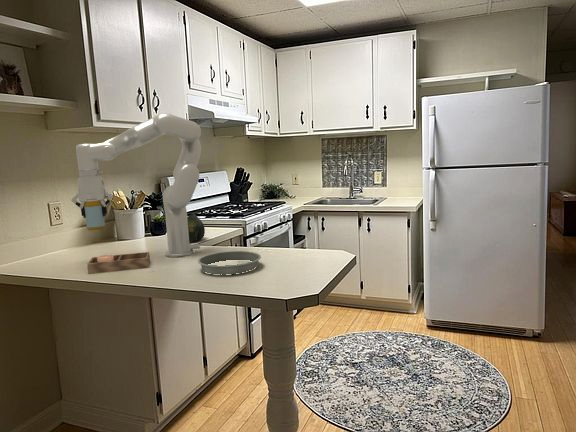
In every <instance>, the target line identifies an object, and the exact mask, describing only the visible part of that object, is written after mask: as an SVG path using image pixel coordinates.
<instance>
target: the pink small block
mask: <svg viewBox="0 0 576 432" xmlns="http://www.w3.org/2000/svg"><path fill="white" fill-rule="evenodd" d="M96 257H97V261H98V262H107V261H114V259H113V255H112V254H104V255H99V256H96Z"/></svg>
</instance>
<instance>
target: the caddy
mask: <svg viewBox="0 0 576 432" xmlns="http://www.w3.org/2000/svg"><path fill="white" fill-rule="evenodd" d="M150 256H151V255H150V252H149V251H143V252H135V253H122V254H115V255H113V259H114V261H107V262H98V261H97V257H98V256H93V257H92V258H90V259H89V261H88V263H87V264H86V266H87V271H88V272H87V274H88V275H92V274H93V275H95V274H101V273H113V272H120V271H123V272H124V271H129V270H130V271H131V270H133V271H134V270H142V269H148V268H149V267H150V263H151V257H150Z"/></svg>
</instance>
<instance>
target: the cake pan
mask: <svg viewBox="0 0 576 432" xmlns="http://www.w3.org/2000/svg"><path fill="white" fill-rule="evenodd" d="M260 259H262V256H261V254H260V253H257V252H254V251H247V250H230V251H220V252H219V251H218V252H214V253H210V254H209V253H208V254H206V255H204V256H201V257H199V258H198V260H197V263H198V264H199V265H200V267H201V269H202V272H203V271H204V272H207V273H211V274H220V275H221V274H222V275H226V274H236V273H242V272H246V271H249V270H252V269H254V268H255V267H256V266H257V267H258V265H259V260H260ZM226 260H250V261H252V262H243V263H239V264H237V265H225V266H217V265H208V264H211V263H215V262H219V261H226ZM204 272H203V273H204Z"/></svg>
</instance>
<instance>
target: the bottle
mask: <svg viewBox="0 0 576 432" xmlns="http://www.w3.org/2000/svg"><path fill="white" fill-rule="evenodd" d="M102 207H103V206H102V204H101V202H100V201H98V200H97V197H96V194H86V202H85V204H84V209H85V216H86V218H85V223H86V229H87V230H88V231H99V230H103V229H105V228H106V221H105V216H103V212H102Z"/></svg>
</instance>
